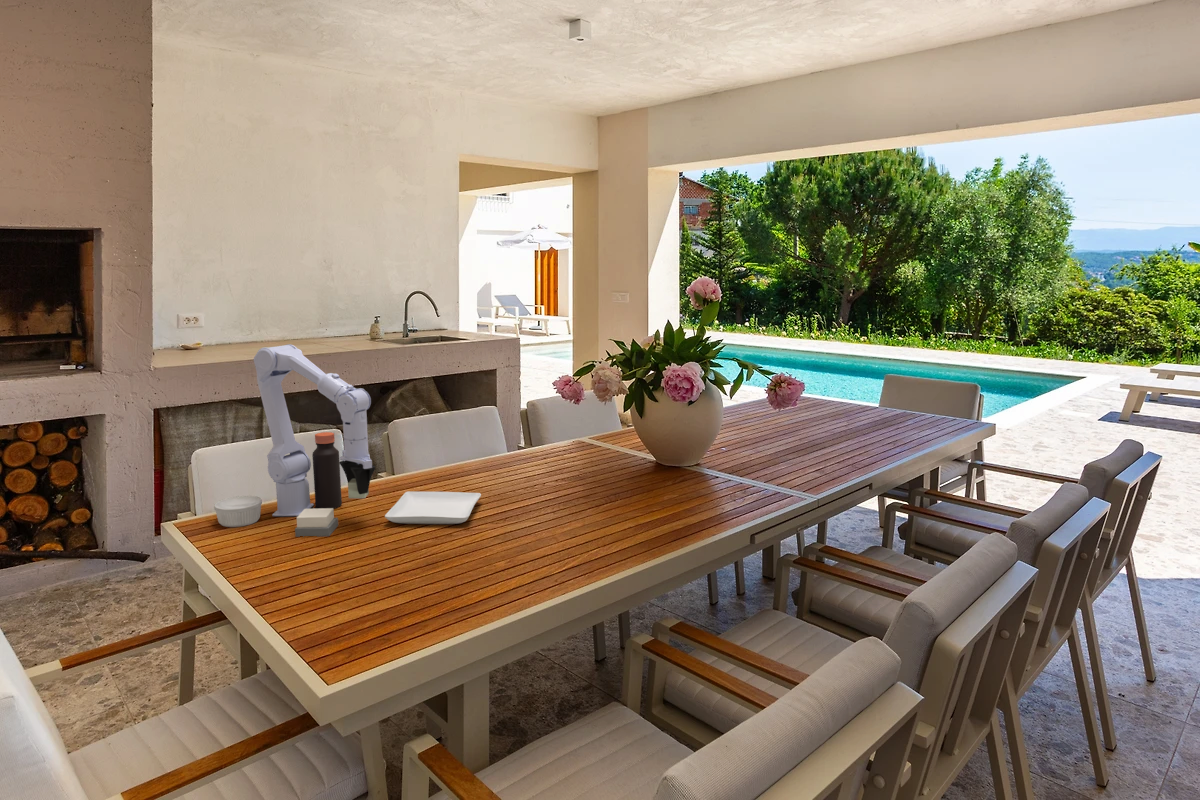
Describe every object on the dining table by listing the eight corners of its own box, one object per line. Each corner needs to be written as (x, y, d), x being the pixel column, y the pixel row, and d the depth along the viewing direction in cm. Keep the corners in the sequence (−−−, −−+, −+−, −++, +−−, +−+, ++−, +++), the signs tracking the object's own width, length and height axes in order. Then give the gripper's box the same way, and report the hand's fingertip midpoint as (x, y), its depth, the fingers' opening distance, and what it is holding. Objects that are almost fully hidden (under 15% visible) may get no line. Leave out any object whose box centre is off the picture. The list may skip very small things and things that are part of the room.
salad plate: (468, 529, 196) (467, 516, 196) (383, 528, 197) (383, 515, 196) (482, 503, 217) (482, 491, 216) (406, 502, 217) (405, 491, 217)
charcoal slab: (306, 527, 197) (305, 518, 197) (338, 527, 198) (337, 517, 197) (295, 538, 190) (294, 528, 189) (329, 538, 190) (328, 528, 190)
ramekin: (229, 532, 193) (227, 511, 192) (206, 523, 200) (205, 503, 199) (272, 520, 202) (270, 500, 201) (249, 512, 208) (247, 492, 207)
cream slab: (305, 518, 197) (304, 508, 196) (333, 517, 197) (333, 508, 197) (297, 527, 190) (296, 517, 189) (326, 526, 190) (326, 517, 190)
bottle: (314, 504, 215) (309, 432, 211) (340, 501, 218) (336, 430, 214) (316, 511, 209) (312, 437, 205) (343, 507, 212) (339, 435, 208)
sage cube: (353, 493, 201) (352, 478, 200) (368, 493, 201) (368, 478, 200) (348, 498, 197) (347, 483, 196) (364, 498, 197) (364, 482, 196)
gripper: (329, 435, 199) (332, 486, 202) (350, 445, 188) (353, 500, 190) (356, 431, 204) (359, 482, 206) (379, 441, 192) (381, 494, 195)
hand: (358, 490), depth 199 cm, fingers closed on sage cube, 6 cm apart
